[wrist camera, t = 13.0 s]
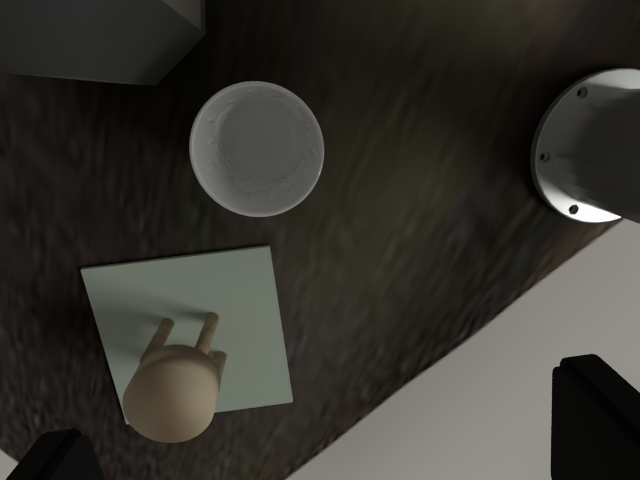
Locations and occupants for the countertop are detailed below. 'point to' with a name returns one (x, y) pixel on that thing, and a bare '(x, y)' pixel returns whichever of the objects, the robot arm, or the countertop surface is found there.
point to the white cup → (256, 149)
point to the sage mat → (197, 318)
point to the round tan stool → (175, 386)
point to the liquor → (99, 38)
